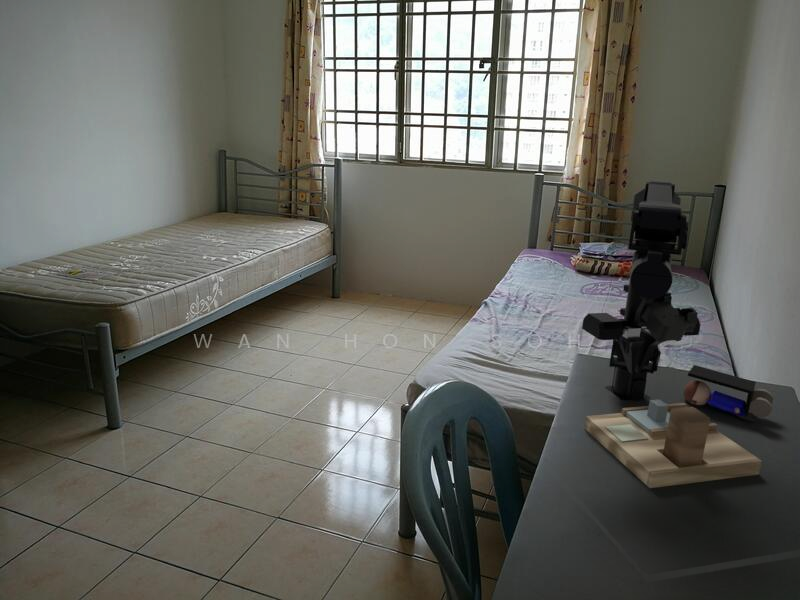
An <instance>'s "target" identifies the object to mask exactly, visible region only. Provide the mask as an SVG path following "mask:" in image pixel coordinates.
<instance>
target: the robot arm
mask: <svg viewBox="0 0 800 600" xmlns="http://www.w3.org/2000/svg"><path fill="white" fill-rule="evenodd" d="M675 187H676V184H675V183H673V182H670V181H657V180H650V181H645V186H644V188H643V189H642V190H640V191H638V192H637V193H636V194H634V196H633V203H632V210H631V214H630V215H631V217H630V223H631V226H630V227H631V228H630V234H629V241H628V242H629V243H628V246H627V248H628V250H629V251H635V252H633V256H632V263H631V269H630V277H629V281H628V284H623V289H622V290H623V291H624V292H626V293H627V296H626V302H625V303H626V304H625V307H622V308H620V311H619V314H620V316H623V318H617V317H615V316H613V315H611V314H610V313H608V312H595V313H594V312H593V313H591V312H590V313H587V314H586V315H585V316H584V317H583V320H582V326H581V327H582V328H581V329H582V330H583V331H585V332H587V333H588V334H590V335H591V336H593V337H594V338H596V339H597V340H600V341H612V345H611V351H610V360H609V365H608V366H609V367H610V368H613V367H614V369H613V375H612V382H611V383H612V384H611V385H610V386H609V385H607V386H606V385H605V387H604V388H605V389H607V391H609V392H610V393H612V394H613V395H614V396H616V397H617V398H618V399H619V400H621V401H635V400H636V401H637V400H645V399H650V398H651V396H650V395H648V394H647V393H646V387H647V377H648V373H649V374H652V375H653V374H654V372H658V367H659V362H660V359H661V354H662V352H661V351H660V349H659V345H660V344H662V343H665V342H670V341H675V342H680V341H682V340H683V337H684V336H687V337H688V336H689V337H690V336H699V335H700V329H701V322H700V319H699V318H698V313H699V312H698V311H697V310H696V309H695V308H694V307H683V308H681V307H675V306H673V304H672V299H673V298H672V292H669V290H671V287H672V284H673V273H672V268H671V267H672V266H671V265H672V258H673V257H672V256H671V255H674V256H675V255H677V256H681V255H682V251H683V250H686V248H687V242H688V241H687V240H688V233H689V221H688V220H687V216H686V214H682V211H683V210H682V206H681V203H682V202H681V201H682V199H681V197H680V196H679V195H678V194H677V192H675ZM634 240H635V242H633V241H634ZM676 243H677V245H676Z"/></svg>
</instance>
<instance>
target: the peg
mask: <svg viewBox="0 0 800 600" xmlns="http://www.w3.org/2000/svg"><path fill="white" fill-rule="evenodd" d="M710 422H711V417H709V416H708V415H706V414H705V413H704V412H702V411H700V410H699V409H698V408H696V407H694V406H686V407H683V408H672V409H671V412H670V418H669V423H668V429H667V435H666V440H665V446H664V451H663V455H664V456H665V457H666V458H667V459H669V460H670V461H671V462H672V463H673V464H675V465H676V466H677V467H678V468H682V467H690V466H699V465H701V463H702V458H703V453H704V448H705V443H706V438H707V433H708V428H709V423H710Z"/></svg>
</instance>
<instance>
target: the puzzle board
mask: <svg viewBox="0 0 800 600" xmlns="http://www.w3.org/2000/svg"><path fill="white" fill-rule="evenodd" d="M666 404H667V405H668V410H667V412H669V413H670V412H671V409H672V408H683V407H687V403H684V402H680V403H679V402H678V403H677V402H676V403H666ZM648 408H649V405H645V406H644V405H643V406H632V407H631V406H630V407H622V408H621V411H620V412H617V413H608V414H607V413H606V414H596V415H586V416H585V422H584V430H585V431H586V432H587V433H589V434H590V435H591V437H593V438H594V439H595V440H596V441H597V442H598V443H600V445H602V446H603V447H604V448H605V449H606V450H607V451H608V452H609V453H610V454H612V455H613V456H614V457H615V458H616V459H617V460H618V461H619V462H621V464H622V465H624V466H625V467H626V468H627V469H628V470H629V471H630V472H631V473H632V474H634V475H635V476H636V477H637V479H638V480H640V481H641V482H642V483H643V484H644V485H646V487H647V488H648V489H653V488H662V487H669V486H670V487H671V486H677V485H678V486H679V485H686V484H694V483H702V482H710V481H718V480H726V479H734V478H742V477H751V476H758V475H760V470H761V467H762V460H761V459H760V458H758V457H757V456H755V455H754V454H752V452H749V451H748V450H747V449H745V448H744V447H743V446H741V445H739V444H738V443H736V442H735V441H733V440H732V439H730V438H728V436H726V435H724V434H722V432H720V431H718V430H717V429H718V424H717V423H715V422H711V423H709V428H708V433H707V438H706V443H705V448H704V453H703V458H702V463H701V465H699V466H690V467H682V468H678V467H677V466H676V465H675V464H673V463H672V462H671V461H670V460H669V459H667V458H666V457H665V456H664V455H663V451H664V446H665V440H666V435H667V429H668V428H659V429H649V433H647V432H646V431H645V430H643V429H642V428H641V427H640V426H638V425H637V424H636V423H635V422H633V421H632V420H631V419H629V418H628V417H627V416H626V412H628V411H639V410H648Z"/></svg>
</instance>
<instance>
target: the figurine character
mask: <svg viewBox="0 0 800 600" xmlns="http://www.w3.org/2000/svg"><path fill="white" fill-rule="evenodd" d="M687 377H691V378H693V379H697V380H691V381H689V382H688V383H687V384H686V385H685V386H684V388H683V397H684V399H685V401H687V402H688V403H690V405H691V404H692V405H696V406H704V405H706V404H708V405H709V406H710V407H713V408H717V409H719V410H722V411H724V412H728V413H730V414H733V415H736V416H737V417H738V418H740V419H742V420H745V421H748V422H751V423H756V420H754V419H752V418H749V417H747V416H750V415H751V416H750V417H753V416H758V417H759V418H767V417H768V416H770V414H771V413H772V410H773V405H772V404H773V402H774V396H773V394H772V393H771V392H770V391H769V390H767V389H765V388H757V389H755V386H756V383H757V382H756V381H754V380H750V379H748V378H746V379H745V378H743V377H739V376H737V375H732V374H729V373H725V372H722V371H717V370H714V369H711V368H707V367H702V366H700V365H696V364H693V366H692V367H691V368H690V370H689V371H688V374H687ZM704 381H705V382H707V383H711V384H715V385H719V386H723V387H726V388H728V389H731V390H732V389H733V390H735V391H739V392H743V393H745V394H747V397H746V400H743V399H741V398H739V397H735V396H732V395H729V394H726V393H723V392H721V391H717V390H714V391H711V388H710V387H709V385H708V384H707V383H705V382H704Z"/></svg>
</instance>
